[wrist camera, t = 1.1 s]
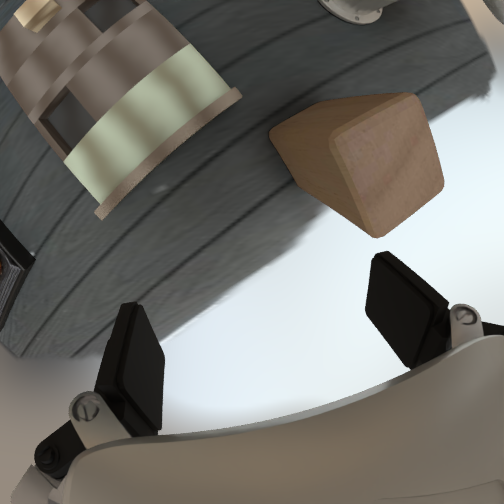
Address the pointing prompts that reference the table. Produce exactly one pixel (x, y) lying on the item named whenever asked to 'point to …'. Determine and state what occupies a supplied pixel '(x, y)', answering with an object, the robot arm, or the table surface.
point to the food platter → (11, 270)
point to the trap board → (111, 90)
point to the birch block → (36, 13)
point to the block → (363, 157)
